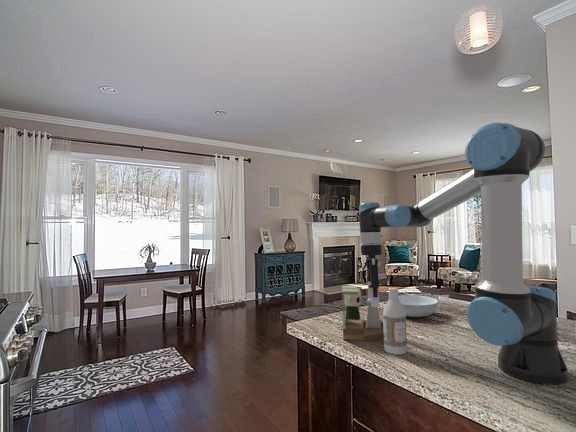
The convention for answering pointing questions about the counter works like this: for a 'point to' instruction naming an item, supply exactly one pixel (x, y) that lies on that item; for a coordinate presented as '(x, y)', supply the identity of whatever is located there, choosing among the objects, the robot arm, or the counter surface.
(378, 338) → the socket station
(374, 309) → the salt shaker
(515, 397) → the counter surface
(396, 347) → the bath foam
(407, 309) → the serving bowl
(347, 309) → the character mug
